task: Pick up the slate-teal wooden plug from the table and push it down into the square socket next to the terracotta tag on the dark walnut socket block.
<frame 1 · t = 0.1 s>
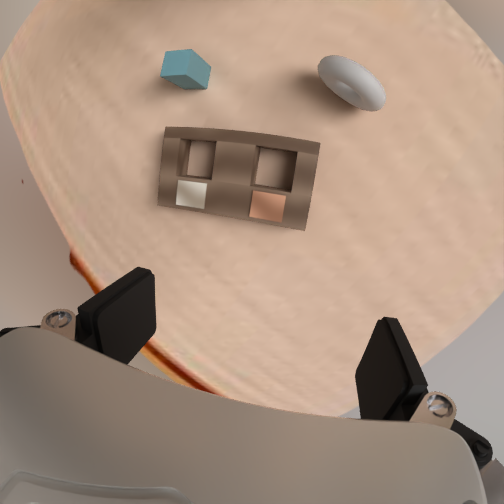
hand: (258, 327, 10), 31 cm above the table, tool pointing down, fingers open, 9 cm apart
donut: (346, 93, 33), on the table
socket block: (238, 173, 39), on the table
plug: (197, 77, 36), on the table
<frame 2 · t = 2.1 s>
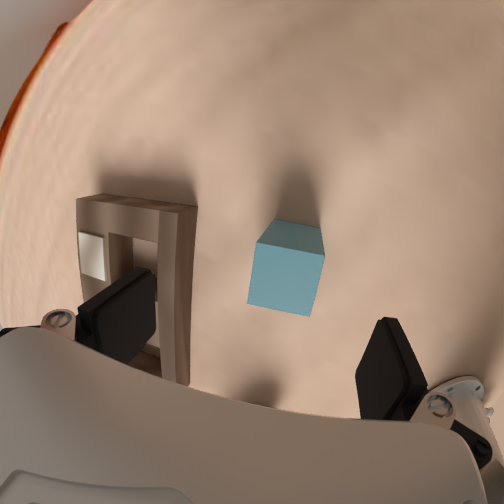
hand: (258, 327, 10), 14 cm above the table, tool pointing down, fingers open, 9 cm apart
socket block: (143, 297, 29), on the table
plug: (293, 246, 23), on the table
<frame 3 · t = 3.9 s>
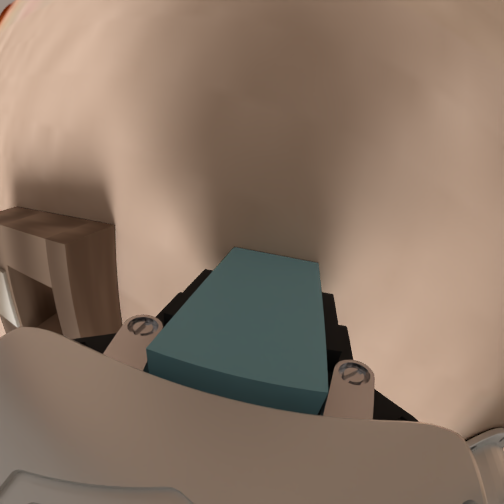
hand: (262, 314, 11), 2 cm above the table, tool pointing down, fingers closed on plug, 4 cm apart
socket block: (74, 343, 18), on the table
plug: (269, 293, 13), on the table, touching gripper
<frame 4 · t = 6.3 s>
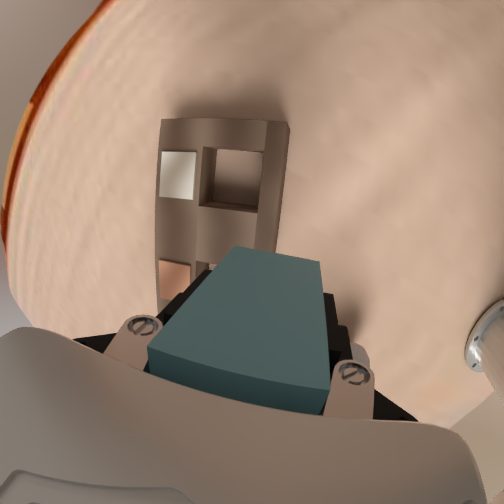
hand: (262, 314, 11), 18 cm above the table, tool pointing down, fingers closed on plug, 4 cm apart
socket block: (222, 227, 29), on the table
plug: (270, 291, 13), point 16 cm above the table, touching gripper
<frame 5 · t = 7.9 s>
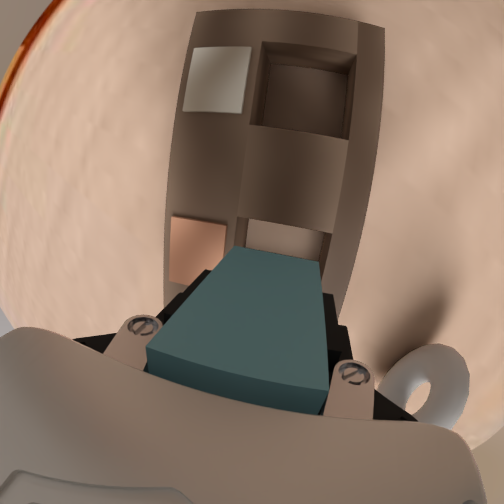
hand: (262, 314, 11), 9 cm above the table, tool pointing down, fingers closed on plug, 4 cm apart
donut: (403, 360, 21), on the table
socket block: (273, 172, 19), on the table
plug: (269, 292, 13), point 7 cm above the table, touching gripper
when the fingers open (5 cm above the table, at t = 9.2 s): plug drops 3 cm, resting in socket block.
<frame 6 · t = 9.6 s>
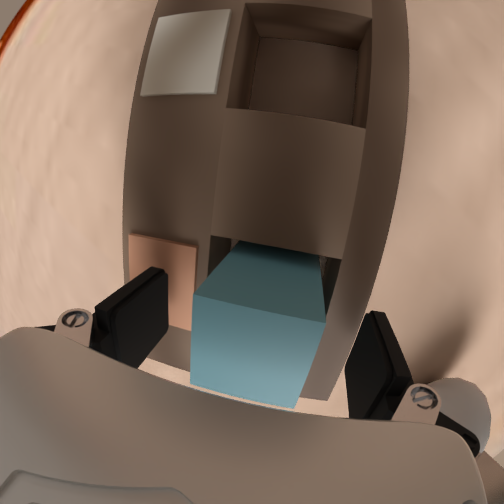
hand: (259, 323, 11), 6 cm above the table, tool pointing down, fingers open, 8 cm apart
donut: (415, 393, 17), on the table
socket block: (263, 173, 14), on the table
plug: (276, 271, 16), resting in socket block
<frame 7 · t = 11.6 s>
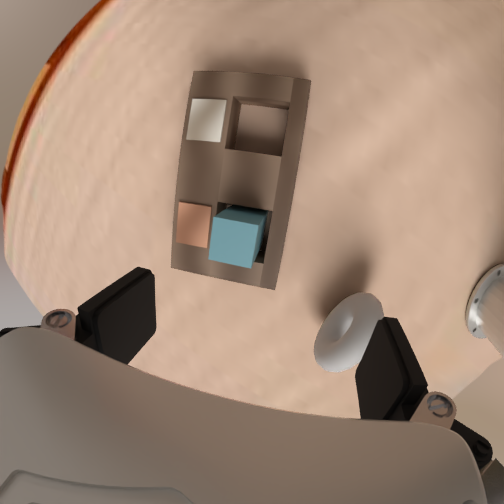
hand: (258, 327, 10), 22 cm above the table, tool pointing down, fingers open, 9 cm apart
donut: (341, 308, 33), on the table
socket block: (241, 175, 30), on the table
plug: (248, 223, 31), resting in socket block
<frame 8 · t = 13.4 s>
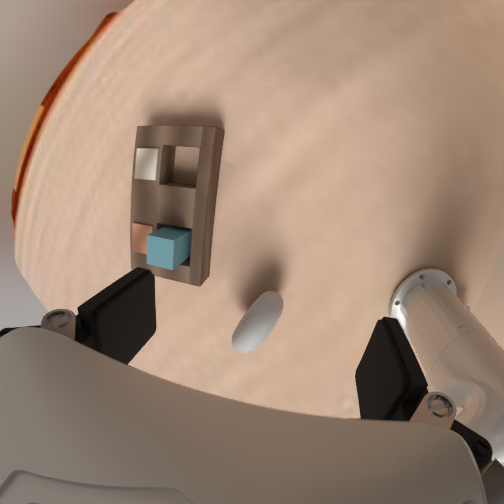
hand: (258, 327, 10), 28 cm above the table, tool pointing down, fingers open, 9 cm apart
donut: (262, 304, 42), on the table
socket block: (178, 201, 40), on the table
plug: (184, 237, 41), resting in socket block
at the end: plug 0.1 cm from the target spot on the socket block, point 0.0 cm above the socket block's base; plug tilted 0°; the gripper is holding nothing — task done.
